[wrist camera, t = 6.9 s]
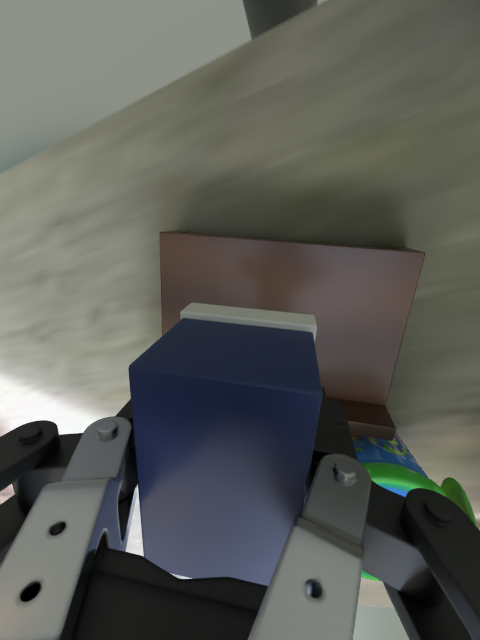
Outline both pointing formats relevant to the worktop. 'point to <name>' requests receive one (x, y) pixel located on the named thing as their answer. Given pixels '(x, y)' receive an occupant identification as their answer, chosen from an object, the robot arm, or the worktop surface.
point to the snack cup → (402, 473)
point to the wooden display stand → (308, 304)
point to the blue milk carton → (224, 438)
